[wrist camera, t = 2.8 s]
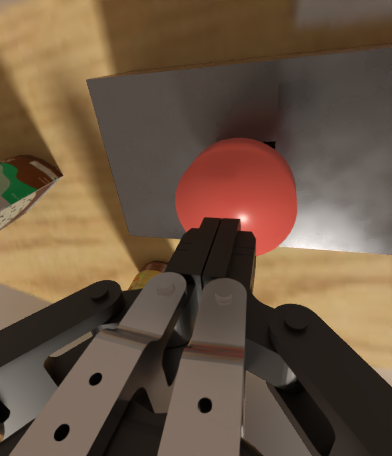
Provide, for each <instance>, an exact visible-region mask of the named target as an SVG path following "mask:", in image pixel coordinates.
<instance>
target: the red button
mask: <svg viewBox="0 0 392 456" xmlns="http://www.w3.org/2000/svg"><path fill="white" fill-rule="evenodd" d="M175 205H176V211H177V215H178V218H179V221H180V223H181V224H182V226H183V228H184V229H185V231H186V232H187V231H188V230H190V229H191V228H199V227H200V225H201V223H202V221H203V218H204V217H212V218H234V219H240V220H241V231H252V233H253V234H254V236H255V238H256V256H258V255H262V254H264V253H267V252H269V251H271V250H273V249H274V248H276V247H277V246H278V245H280V244H281V243H282V242H283V241H284V240H285V239H286V238H287V236H288V235H289V234H290V232H291V230H292V229H293V226H294V224H295V221H296V216H297V195H296V184H295V178H294V175H293V172H292V170H291V168H290V166H289V164H288V163H287V161H286V160H285V159H284V158H283V156H282V155H281V154H280V153H278V152H277V151H276V150H275V149H273V148H272V147H270V146H269V145H267V144H265V143H262V142H260V141H257V140H253V139H248V138H230V139H225V140H221V141H219V142H216V143H214V144H212V145H210V146H208V147H207V148H206V149H204V150H203V151H202V152H201V153H200V154H199V155H198V156H197V157H196V159H195V160H194V161H193V163H192V164H191V165H190V166H189V168H188V169H187V170H186V172H185V173H184V174H183V176H182V178H181V179H180V181H179V184H178V187H177V190H176V196H175Z"/></svg>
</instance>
